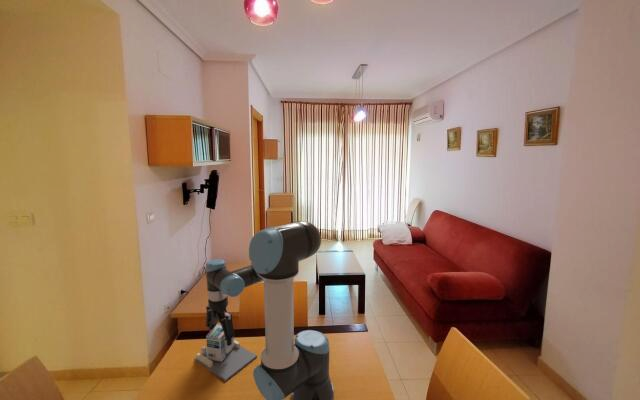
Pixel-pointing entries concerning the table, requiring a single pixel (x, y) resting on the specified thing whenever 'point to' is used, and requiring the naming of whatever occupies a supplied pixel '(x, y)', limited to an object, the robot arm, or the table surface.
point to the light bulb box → (217, 344)
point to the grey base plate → (227, 361)
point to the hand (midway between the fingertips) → (221, 347)
